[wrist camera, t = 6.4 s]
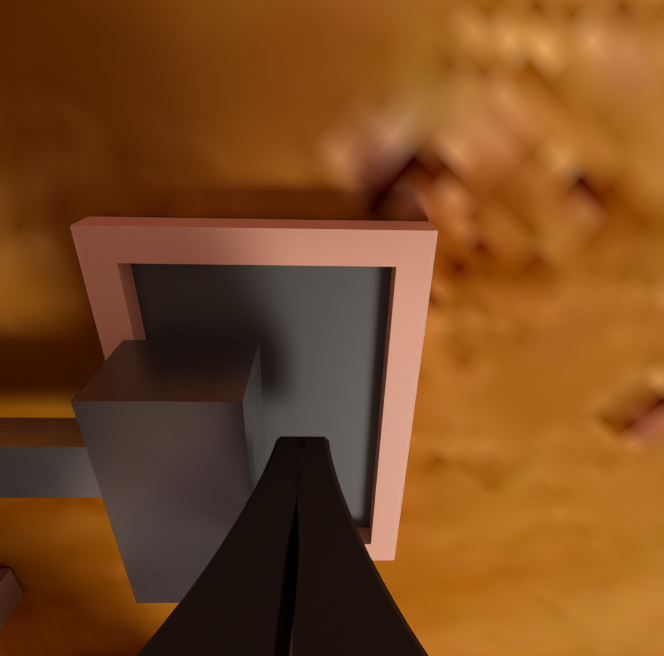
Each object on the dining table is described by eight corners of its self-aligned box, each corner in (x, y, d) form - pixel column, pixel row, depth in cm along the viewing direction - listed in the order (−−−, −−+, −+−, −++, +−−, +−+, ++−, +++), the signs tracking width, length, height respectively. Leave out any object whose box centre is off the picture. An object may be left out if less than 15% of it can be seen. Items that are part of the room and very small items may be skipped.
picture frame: (390, 538, 15) (393, 560, 14) (166, 538, 15) (158, 560, 14) (429, 221, 10) (437, 230, 9) (88, 216, 10) (69, 225, 9)
